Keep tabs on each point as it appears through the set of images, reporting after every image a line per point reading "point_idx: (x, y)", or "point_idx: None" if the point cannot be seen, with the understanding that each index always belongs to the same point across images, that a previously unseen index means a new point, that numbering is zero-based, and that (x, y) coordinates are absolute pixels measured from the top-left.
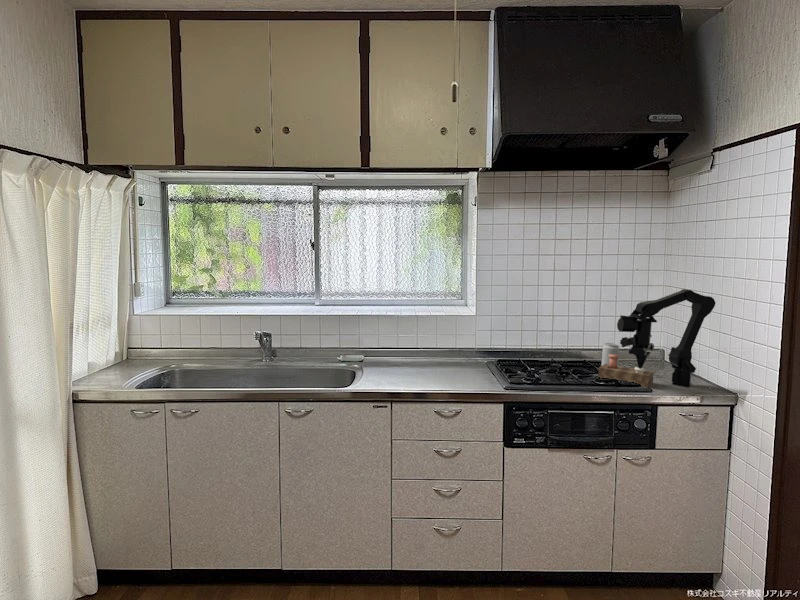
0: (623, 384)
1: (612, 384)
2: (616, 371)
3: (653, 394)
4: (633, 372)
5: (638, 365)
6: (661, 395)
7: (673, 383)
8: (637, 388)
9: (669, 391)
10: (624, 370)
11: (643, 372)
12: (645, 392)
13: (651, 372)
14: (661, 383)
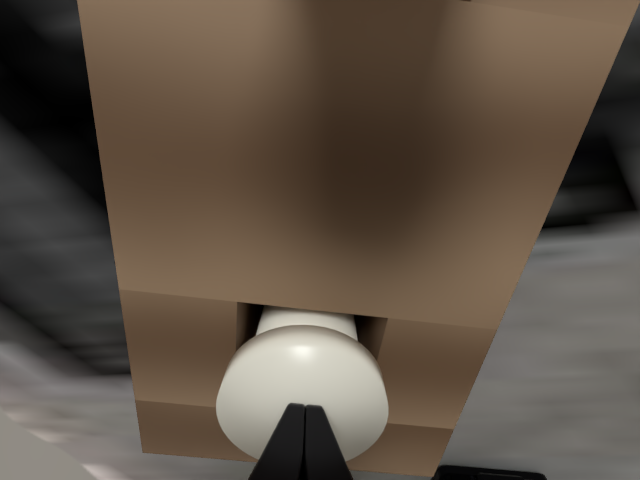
0: None
1: (16, 23)
2: (94, 8)
3: (20, 391)
4: (194, 305)
5: (263, 451)
6: (47, 428)
7: (439, 478)
8: (97, 285)
9: None
10: (230, 162)
11: None
12: (21, 346)
13: (375, 463)
14: None
